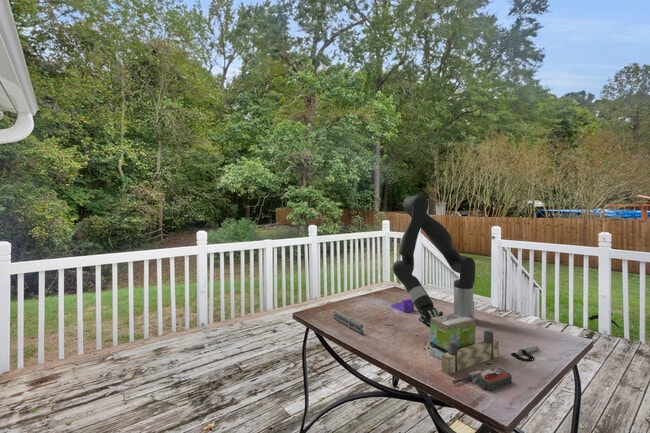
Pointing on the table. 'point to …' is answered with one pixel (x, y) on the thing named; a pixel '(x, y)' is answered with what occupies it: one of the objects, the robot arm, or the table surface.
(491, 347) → the bench stop
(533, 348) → the micrometer
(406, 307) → the bracket
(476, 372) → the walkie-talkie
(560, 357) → the table surface
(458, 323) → the tea box
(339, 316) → the metal rod assembly
